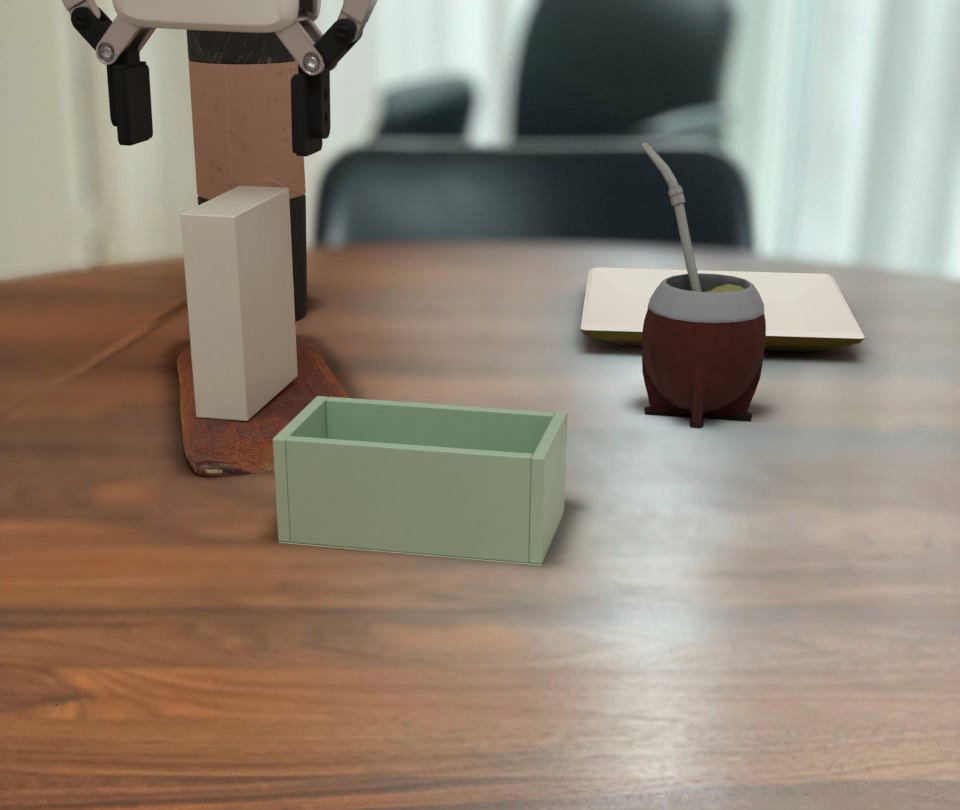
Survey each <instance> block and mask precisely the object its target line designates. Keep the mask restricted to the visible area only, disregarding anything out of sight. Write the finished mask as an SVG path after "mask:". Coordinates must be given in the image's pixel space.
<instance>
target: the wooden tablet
mask: <svg viewBox="0 0 960 810" xmlns="http://www.w3.org/2000/svg"><path fill="white" fill-rule="evenodd" d="M296 351H297V372H298V376H297V377H296V378H295V379H294V380H293V381H292V382H291V383H289V384H288V385H287V386H286V387H285V388H284V389H283V390H282V391H280V392H279V393H278V394H277V395H276V396H275V397H274V398H273V399H272V400H270V401H269V402H268V403H267V404H266V405H265V406H264V407H263V408H261V409H260V410H259V411H258V412H257V413H256V414H255V415H254V416H253V417H251V418H250V419H249V420H248V421H237V420H223V419H210V418H197V417H196V407H195V394H194V382H193V369H192V356H191V347H188V348H185V349H184V350H183V351H181V353H179V355H178V357H177V360H176V368H177V373H178V381H179V382H178V383H179V407H180V408H179V413H180V423H181V427H182V428H181V431H182V445H183V450H184V454H185V455H184V456H185V458H186V460H187V461H188V464H189V465H190V467H191V468H192V470H193V472H194V473H195V474H197V475H198V476H199V477H204V478H216V477H233V476H234V477H235V476H245V475H246V476H247V475H254V474H261V473H266V472H274V455H273V438H274V437H275V436H276V435H277V434H278V433H279V432H280V431H281V430H282V429H283V428H285V427H286V426H287V425H288V424H289V423H290V422H291V421H292V420H293V419H294V418H295V417H296V416H297V415H298V414H299V413H300V412H301V411H302V410H303V409H304V408H305V407H306V406H307V405H308V404H309V403H310V402H311V401H313V400H314V399H315V398H316V397H317V396H325V397H340V398H349V396H348V394H347V393H346V392H345V390H344V389H343V388H342V386H341V385H340V383H339V381H338V379H337V378H336V377H335V374H333V372H332V371H331V369H330V368H329V367H328V365H327V364H326V362H325V360H324V359H323V357H322V356H321V355H320V354H319V352H318V351H317V350H316V349H315V347H314V346H313V345H312V344H311V343H309V342H308V341H307V340H305V339H303V338H300V337H296Z"/></svg>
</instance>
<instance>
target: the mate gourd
mask: <svg viewBox="0 0 960 810" xmlns="http://www.w3.org/2000/svg"><path fill="white" fill-rule="evenodd" d="M641 148H642V149H643V151H644V152H645V153H646V154H647V156H648V157H649V159H650V160H651V161H652V162H653V164H654V165H655V167H656V168H657V169H658V171H659V172H660V174H661V175H662V177H663V179H664V181H665V182H666V184H667V187H668V190H667V193H668V197H669V200H670V204H671V206H672V207H674V208H673V209H674V212H675V218H676V223H677V228H678V234H679V238H680V243H681V247H682V254H683V258H684V263H685V267H686V270H687V272H688V274H682V275H676V276H671V277H669V278H666V279H664V280H663V281H662V282H661V283H660V284H659V286H658V287H657V288H656V290H655V291H654V293H653V295H652V296H651V298H650V300H649V303H648V310H647V313H646V316H645V319H644V324H643V331H642V346H641V363H642V364H641V367H642V368H641V371H642V377H643V381H644V386H645V390H646V395H647V399H648V406H645V407H644V408H643V411H644V412H643V413H644V415H645V416H658V417H659V416H661V417H672V418H673V417H674V418H687V419H689V428H691V429H703V428H704V423H705V420H718V421H731V422H733V421H734V422H748V423H751V422H752V418H753V414H754V413H752V412H749V409H750V406H751V403H752V401H753V398H754V396H755V393H756V390H757V388H758V386H759V383H760V379H761V375H762V369H763V364H764V355H765V350H764V349H765V343H766V320H765V315H764V303H763V301H762V299H761V297H760V294H759V292H758V291H757V289H756V288H755V286H754V285H753V284H752V283H751V282H749V281H747V280H746V279H742V278H739V277H735V276H729V275H721V274H705V273H697V270H698V269H697V265H696V259H695V255H694V250H693V245H692V239H691V234H690V229H689V224H688V219H687V214H686V213H687V212H686V208H685V203H686V202H687V201H686V198H685V194H684V189H683V187H682V185H679V183H678V179H677V178H676V176H675V174H674V173H673V171H672V169H671V168H670V166H669V165H668V164H667V163H666V162H665V160H664V159H663V158H662V157H661V156H660V155H659V153H657V152H656V150H655V149H653V147H652V146H651V145H650V144H649V143H648V142H645V141H644V142H643V143H641Z"/></svg>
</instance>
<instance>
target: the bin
mask: <svg viewBox="0 0 960 810" xmlns="http://www.w3.org/2000/svg"><path fill="white" fill-rule="evenodd" d="M567 436H568V413H567V412H559V411H557V412H554V411H547V410H546V411H544V410H530V409H515V408H499V407H486V406H473V405H457V404H456V405H455V404H441V403H427V402H411V401H397V400H383V399H382V400H381V399H369V398H368V399H367V398H354V397H348V398H340V397H325V396H317V397H316V398H315V399H314V400H313V401H311V402H310V403H309V404H308V405H307V406H306V407H305V408H304V409H303V410H302V411H301V412H300V413H299V414H298V415H297V416H296V417H295V418H294V419H293V420H292V421H291V422H290V423H289V424H288V425H287V426H286V427H285V428H283V429H282V430H281V431H280V432H279V433H278V434H277V435H276V436H275V437H274V438H273V455H274V471H273V472H274V487H275V488H274V489H275V506H276V507H275V508H276V521H277V522H276V523H277V539H278V543H279V544H286V545H287V544H289V545H299V546H300V545H301V546H312V547H323V548H334V549H347V550H355V551H356V550H357V551H358V550H359V551H369V552H379V553H380V552H381V553H393V554H403V555H416V556H427V557H439V558H449V559H461V560H462V559H463V560H473V561H485V562H497V563H508V564H519V565H520V564H521V565H531V566H542V565H543V563H544V561H545V559H546V556H547V553H548V552H549V549H550V547H551V544H552V542H553V539H554V537H555V535H556V532H557V530H558V528H559V525H560V524H561V521H562V518H563V516H564V514H565V500H566V499H565V498H566V471H567V469H566V466H567V441H568V439H567Z"/></svg>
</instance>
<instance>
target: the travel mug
mask: <svg viewBox="0 0 960 810" xmlns="http://www.w3.org/2000/svg"><path fill="white" fill-rule="evenodd" d="M186 42H187V43H186V44H187V58H188V73H189V74H188V75H189V76H188V77H189V90H190V104H191V119H192V120H191V121H192V136H193V137H192V138H193V150H194V151H193V152H194V165H195V166H194V167H195V183H196V184H195V185H196V194H197V206H198V205H200V204H202V203H205V202H207V201H209V200H211V199H213V198H215V197H217V196H219V195H221V194H223V193H225V192H228V191H230V190H232V189H234V188H236V187H238V186H259V187H282V188H289V203H290V224H291V245H292V267H293V288H294V309H295V321H298V320H301V319H302V318H304V317H306V315H307V312H308V258H307V257H308V256H307V255H308V254H307V250H308V249H307V248H308V247H307V196H306V192H307V190H306V189H307V187H306V172H305V156H297V155H296V153H293V151H292V120H291V78H292V77H293V75H295V74H298V63H297V62H296V60H295V59H294V58H293V56H292V55H291V54H290V52H289V51H288V50H287V48H286V47H285V46H284V44H283V43H282V42H281V40H280V39H279V38H278V36H277V35H276V34H275V32H270V33H251V32H226V31H204V30H186Z"/></svg>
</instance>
